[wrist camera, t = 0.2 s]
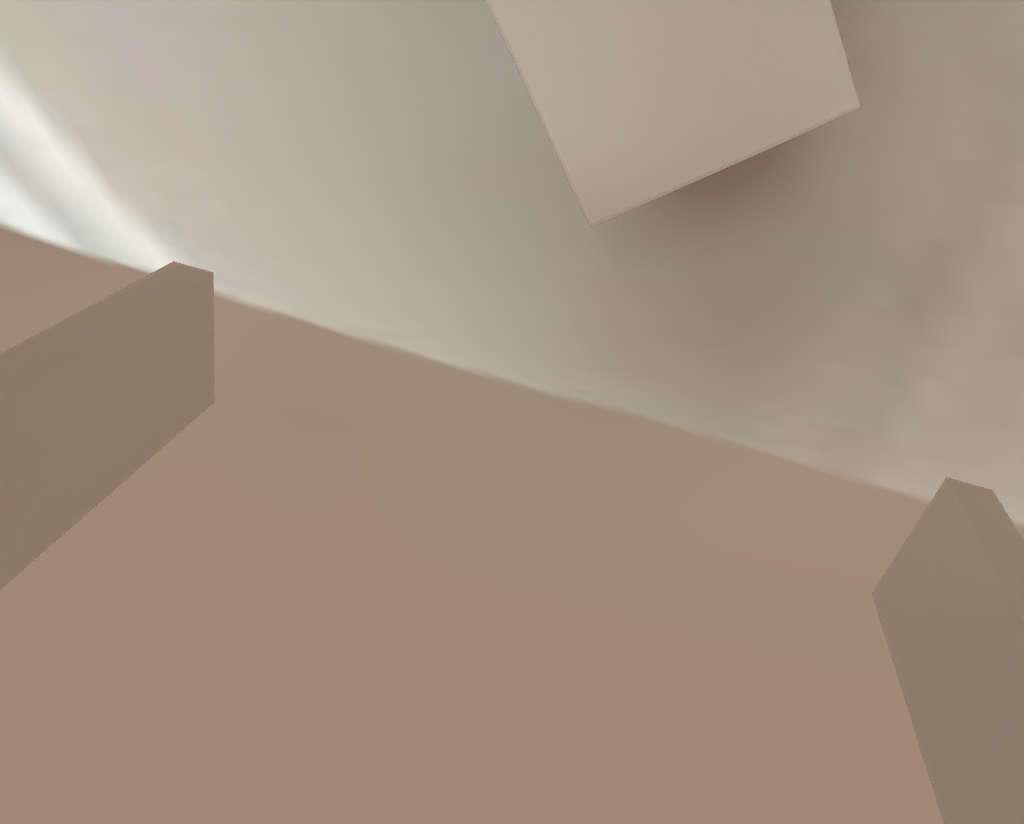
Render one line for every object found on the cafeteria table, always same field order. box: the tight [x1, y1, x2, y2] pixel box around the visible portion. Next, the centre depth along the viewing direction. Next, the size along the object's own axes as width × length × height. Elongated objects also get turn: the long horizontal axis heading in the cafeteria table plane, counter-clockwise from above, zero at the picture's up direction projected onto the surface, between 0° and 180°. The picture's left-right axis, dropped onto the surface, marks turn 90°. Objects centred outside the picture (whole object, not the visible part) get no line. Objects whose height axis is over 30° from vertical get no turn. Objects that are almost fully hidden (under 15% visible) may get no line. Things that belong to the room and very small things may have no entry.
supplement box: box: [486, 0, 861, 227], centre depth 28 cm, size 9×9×15 cm
